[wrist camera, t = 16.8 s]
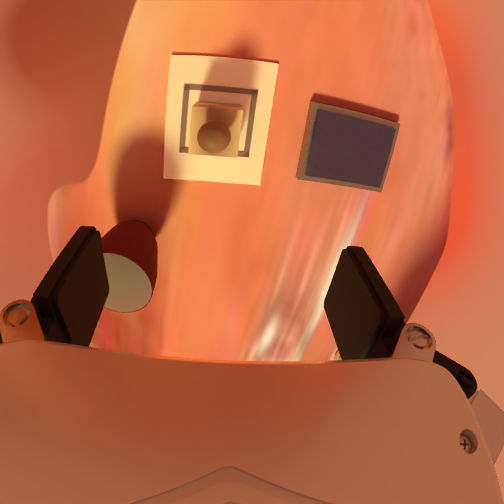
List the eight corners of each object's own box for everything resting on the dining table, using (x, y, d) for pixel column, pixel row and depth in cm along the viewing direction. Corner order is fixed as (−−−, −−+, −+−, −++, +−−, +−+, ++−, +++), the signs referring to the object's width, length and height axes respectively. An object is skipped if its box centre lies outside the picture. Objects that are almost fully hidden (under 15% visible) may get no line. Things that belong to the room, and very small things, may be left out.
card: (278, 63, 26) (279, 63, 26) (259, 184, 34) (260, 185, 34) (171, 55, 25) (170, 54, 25) (163, 177, 33) (163, 178, 32)
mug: (172, 274, 40) (162, 329, 32) (118, 274, 40) (98, 326, 31) (164, 204, 35) (145, 252, 26) (103, 206, 34) (71, 252, 26)
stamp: (241, 104, 28) (245, 115, 21) (235, 144, 31) (238, 169, 24) (197, 100, 28) (186, 111, 21) (194, 141, 30) (183, 165, 23)
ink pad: (395, 122, 30) (402, 124, 29) (377, 189, 35) (383, 193, 34) (310, 100, 29) (313, 102, 28) (295, 176, 34) (298, 181, 33)
